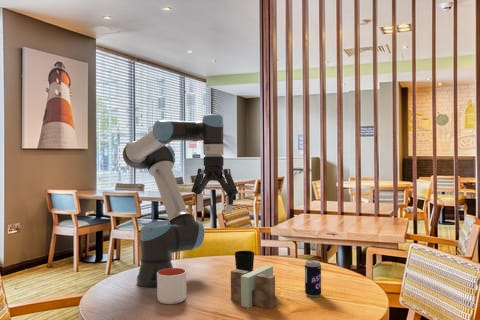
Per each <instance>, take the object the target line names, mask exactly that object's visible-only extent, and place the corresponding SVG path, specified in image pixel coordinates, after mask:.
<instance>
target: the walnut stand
mask: <svg viewBox="0 0 480 320" xmlns="http://www.w3.org/2000/svg"><path fill="white" fill-rule="evenodd" d="M247 273H249V271H244V270H239V269H236V268H234V269H232V270H231V271H230V300H231V301H235V302H240V303H241V276H242V275H245V274H247ZM253 305H254V306H257V307H261V308H266V309H269V310H270V309H273V308H274V307H276V275H273V276H272V275H266V274H259V275H257V276H256V289H255V290H253V291H252V306H253Z"/></svg>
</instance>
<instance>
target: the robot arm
mask: <svg viewBox="0 0 480 320" xmlns="http://www.w3.org/2000/svg"><path fill="white" fill-rule="evenodd" d="M173 141H174V142H175V141H179V142H180V141H182V142H183V141H184V142H185V141H186V142H187V141H191V142H201V141H202V144H203V146H202V147H203V148H202V149H203V153H202V154H203V156H204V157H203V167H204V168H202V167H201V168H198V169H197V175H196V177H195V180H194V182H193V184H192V188H191V193H194V194H195V202H196V208H197V209H196V211H197V212H204V193H203V191H204V190H205V188H206V186H207V185H208V184H209V182H211V181H214V182H218V184H219V185H220V186H221V188H222V189H223V191H224V192H225V194H226V196H225V215H230V214H232V212H233V208H232V207H233V205H234V196H235V195H238V194H239V191H238V189H237V187H236V184H235V181H234V179H233V177H232V174H231V173H232V172H231V169H230V168H224V161H225V160H224V159H225V158H224V156H223V155H224V118H223V116H222V115H221V114H218V113H217V114H215V113H211V114H210V113H208V114H204V115H203V116H202V120H201V121H192V120H191V121H190V120H171V119H161V120H159V119H158V120H156V121H154V124H153V125H152V130H151V131H149V132H148V133H146V134H145V135H143V136H142V137H141V138H139V139H137V140H133V141H130V142H129V143H127V144H126V145H125V146H124V148H123V150H122V159H123V161H124V162H125V164H126V165H127V166H129V167H130V168H133V169H137V170H143V169H144V170H145V169H146V170H147V171H148V173H149V176H151V177H153V179H154V181H155V184H156V186H157V189H158V192H159V195H160V198H161V201H162V203H163V206H164V209H165V211H166V215H167V218H168V221H167V220H160V221H153V222H149V223H147V224H145V225H143V226H142V227H141V228H140V237H139V240H140V259H141V261H140V266H139V269H138V274H137V277H136V284H137V285H138V286H140V287H144V288H157V272H158V271H160V270H162V269H167V268H174V267H173V263H172V256H171V255H172V254H173V253H181V252H186V251H192V250H195V249H199V248H200V247H201V246H202V244H203V243H204V239H205V226H204V224H203V223H202V221H201V220H196V219H195V217H194V214H192V213H190V212H189V211H188V207H186V203H185V200H184V198H183V196H182V193H181V190H180V188H179V186H178V182H177V180H176V177H175V175H174V172H173V169H174V165H175V164H176V158H175V156H176V154H175V151H174V149H173V147H172V146H171V145H170V143H172V142H173Z"/></svg>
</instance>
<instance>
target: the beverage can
mask: <svg viewBox="0 0 480 320" xmlns="http://www.w3.org/2000/svg"><path fill="white" fill-rule="evenodd" d="M304 293H305V295H306V296H308V297H310V298H318V297H320V295H321V294H322V265H321V261H319V260H316V259H308V260H305V263H304Z"/></svg>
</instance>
